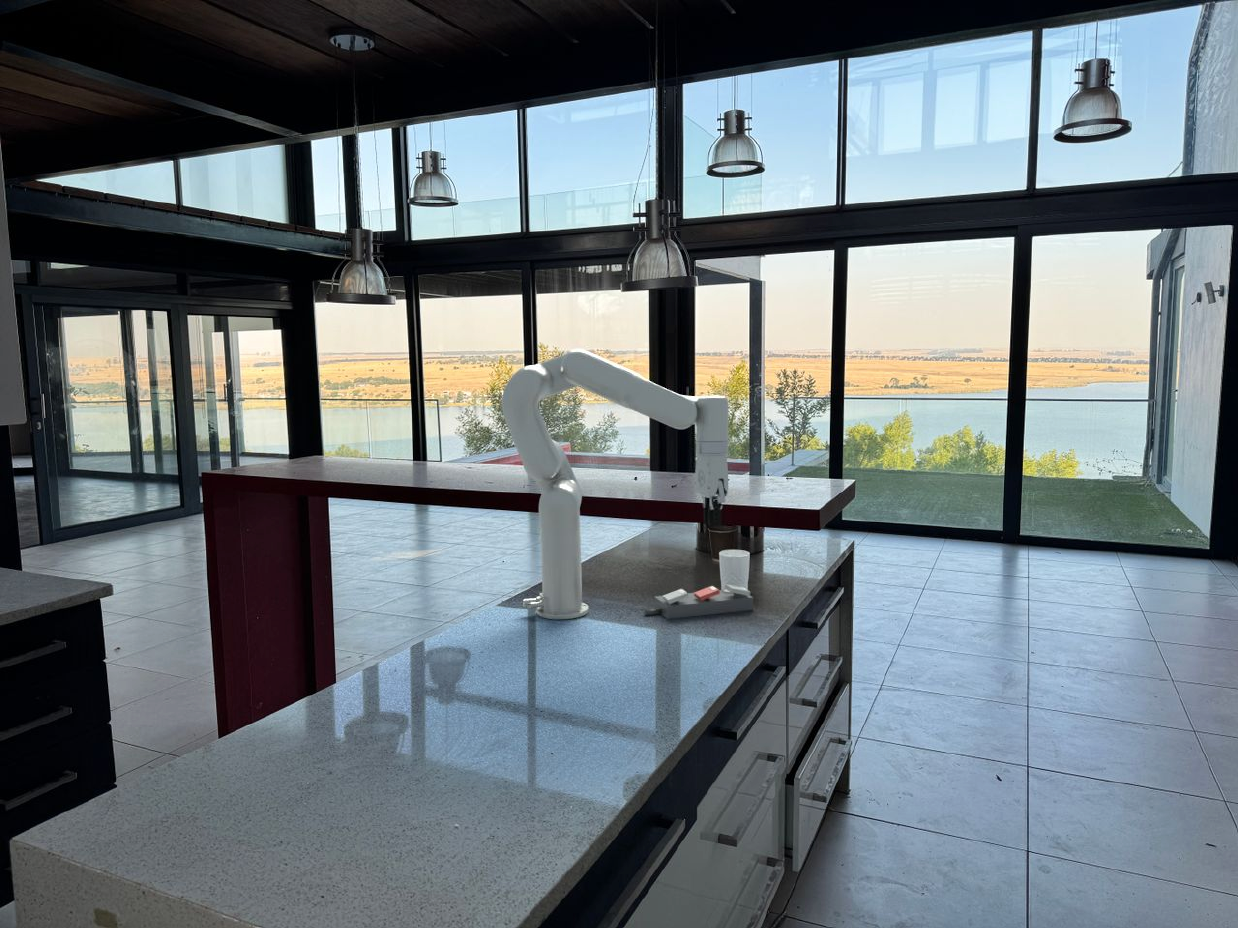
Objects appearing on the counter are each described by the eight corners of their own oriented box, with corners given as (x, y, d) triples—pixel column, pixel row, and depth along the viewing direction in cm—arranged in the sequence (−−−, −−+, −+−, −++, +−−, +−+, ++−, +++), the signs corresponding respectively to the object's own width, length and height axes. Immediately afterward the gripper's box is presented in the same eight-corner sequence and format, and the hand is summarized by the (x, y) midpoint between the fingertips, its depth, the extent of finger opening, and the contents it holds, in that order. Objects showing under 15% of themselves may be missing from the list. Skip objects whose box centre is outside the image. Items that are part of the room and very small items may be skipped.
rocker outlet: (731, 592, 205) (732, 587, 205) (724, 588, 209) (725, 583, 209) (749, 595, 207) (750, 591, 207) (742, 591, 211) (743, 587, 211)
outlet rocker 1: (669, 604, 201) (668, 599, 201) (663, 599, 205) (662, 595, 205) (688, 596, 202) (687, 592, 202) (682, 592, 206) (681, 588, 206)
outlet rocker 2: (701, 600, 203) (700, 596, 203) (694, 596, 207) (693, 592, 207) (719, 593, 205) (718, 589, 204) (713, 589, 208) (712, 585, 208)
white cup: (751, 594, 221) (751, 556, 219) (720, 594, 221) (720, 556, 219) (747, 586, 228) (747, 549, 227) (717, 586, 229) (717, 549, 227)
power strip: (651, 620, 200) (651, 605, 199) (639, 610, 208) (639, 595, 208) (753, 609, 207) (753, 595, 207) (737, 599, 216) (737, 585, 215)
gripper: (685, 445, 208) (685, 520, 211) (710, 452, 193) (711, 532, 196) (713, 444, 211) (714, 518, 213) (741, 450, 195) (741, 530, 198)
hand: (712, 524), depth 204 cm, fingers closed
